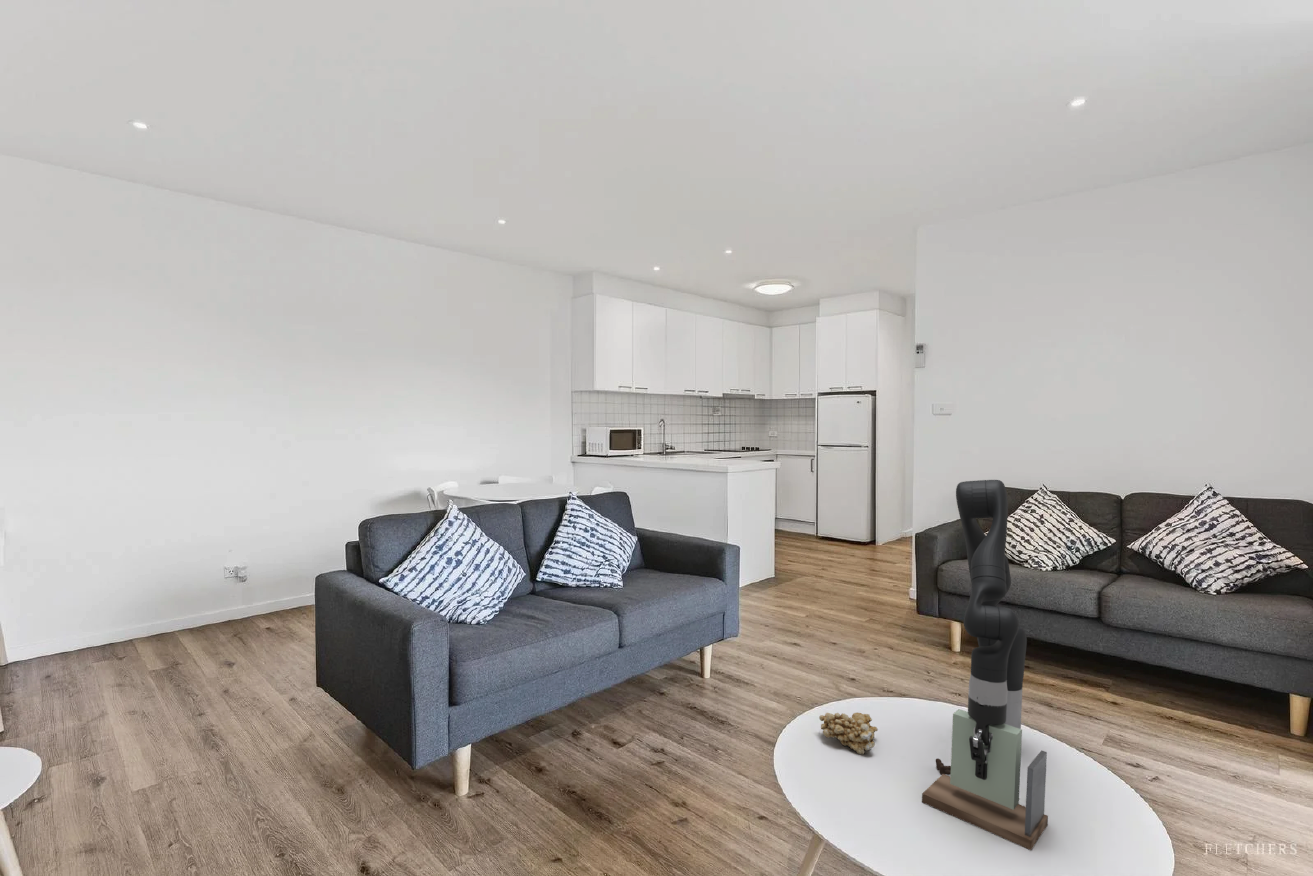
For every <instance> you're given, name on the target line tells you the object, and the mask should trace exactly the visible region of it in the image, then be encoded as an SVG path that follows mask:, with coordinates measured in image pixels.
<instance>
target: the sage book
mask: <svg viewBox="0 0 1313 876" xmlns="http://www.w3.org/2000/svg"><path fill="white" fill-rule="evenodd" d="M974 727H976V721H975V720H974V719H973V718H971V717H970V716H969V715H968V710H963V709H962V708H961V709H960V708H958V709H957V710H956V711H954V712H953V713H952V729H951V730H952V732H951V733H952V734H951V753H950V755H951V756H950V757H951V758H950V766H951V774H950V775H949V776H950V784H952V785H954V786H957V787H959V788H962V789H964V790H966V791H969V792H971V793H974V794H976V795H979V796H981V797H984V798H986V799H988V800H991V801H993V802H996V803H998V804H1001V805H1003V806H1005V807H1008V808H1010V809H1013V810H1014V809H1015V807H1016V806H1017V805H1018V804H1019V803H1020V783H1021V762H1022V759H1021V758H1022V738H1023V729H1022V728H1021V729H1019V728H1016V727H1013V726H1010V725H1007V724H1002V725H989V732H990V733H993V740H992V742H991V752H990V753H989V754H988V762H987V763H988V765H987V778H986V780H983V779H980V778H978V777H976V776H975V767H976V761H975V760H972V759H971V751H970V743H969V738H970V736H972V737H974V733H973V731H974ZM984 747H985V748H987V747H988V745H987V746H985V745H984Z"/></svg>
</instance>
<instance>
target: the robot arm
mask: <svg viewBox="0 0 1313 876" xmlns="http://www.w3.org/2000/svg"><path fill="white" fill-rule="evenodd" d="M955 498H956V506H957V508H958V509H957V510H958V514H959V518H960V522H961V528H962V531H963V536H964V540H965V548H966V555H967V564H968V571H969V578H970V582H971V584H970V585H971V588H970V596H969V599H968V600H969V601H968V604H967V607H966V609H965V612H964V616H963V627H964V629H965V631H966V633H967V634H968V635H970V636H971V637H973V638H976V639H977V644H978V647H975V648H973V649H972V651H971V654H970V655H971V656H970V657H971V658H970V661H971V662H970V675H969V676H970V677H969V681H968V693H967V694H968V697H967V698H968V699H967V712H968V715H969V716H970V717H971V718H973V719H974V720H975V721H976V727H974V731H973V733H974V737H972V736H970V738H969V743H970V751H971V759H972V760H975V761H976V767H975V776H976V777H978V778H980V779H983V780H986V778H987V765H988V763H987V762H988V754H989V753H990V752H991V742H992V740H993V733H990V732H989V725H1002V724H1007V725H1010V726H1013V727H1016V728H1019V729H1022V707H1023V687H1024V686H1023V684H1024V683H1023V682H1024V675H1025V664H1026V663H1025V662H1026V656H1027V655H1026V654H1027V653H1026V652H1027V643H1028V640H1027V638H1028V637H1027V634H1026V631H1025V629H1024V628H1023V627H1021V626H1020V623H1019V617H1018V616H1017V614H1016V612H1015V611H1013V609H1011V608H1009V607H1002V606H998V604H999V603H1000V602H1001V601H1002V600H1003V598H1005V597H1006V595H1007V594H1008V592H1009V591H1010V588H1011V586H1012V585H1011V584H1012V578H1011V570H1010V564H1009V560H1008V557H1007V556H1006V544H1007V536H1008V535H1007V534H1008V533H1007V532H1008V518H1009V517H1008V516H1009V515H1008V514H1009V510H1008V509H1009V502H1008V493H1007V488H1006V486H1005V483H1004V482H1003V481H1002V480H999V479H982V480H965V481H961V482H959V483H958V484H957V485H956V488H955ZM990 518H991V519H992V521H991V525H990V528H989V530H988V532H987V533H986V534H985V532H984V531H983V529H982V528H981V526H980V525H979V522H978V521H977V519H990ZM984 745H985V746H987V745H988V747H987V748H985V747H984Z"/></svg>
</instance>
